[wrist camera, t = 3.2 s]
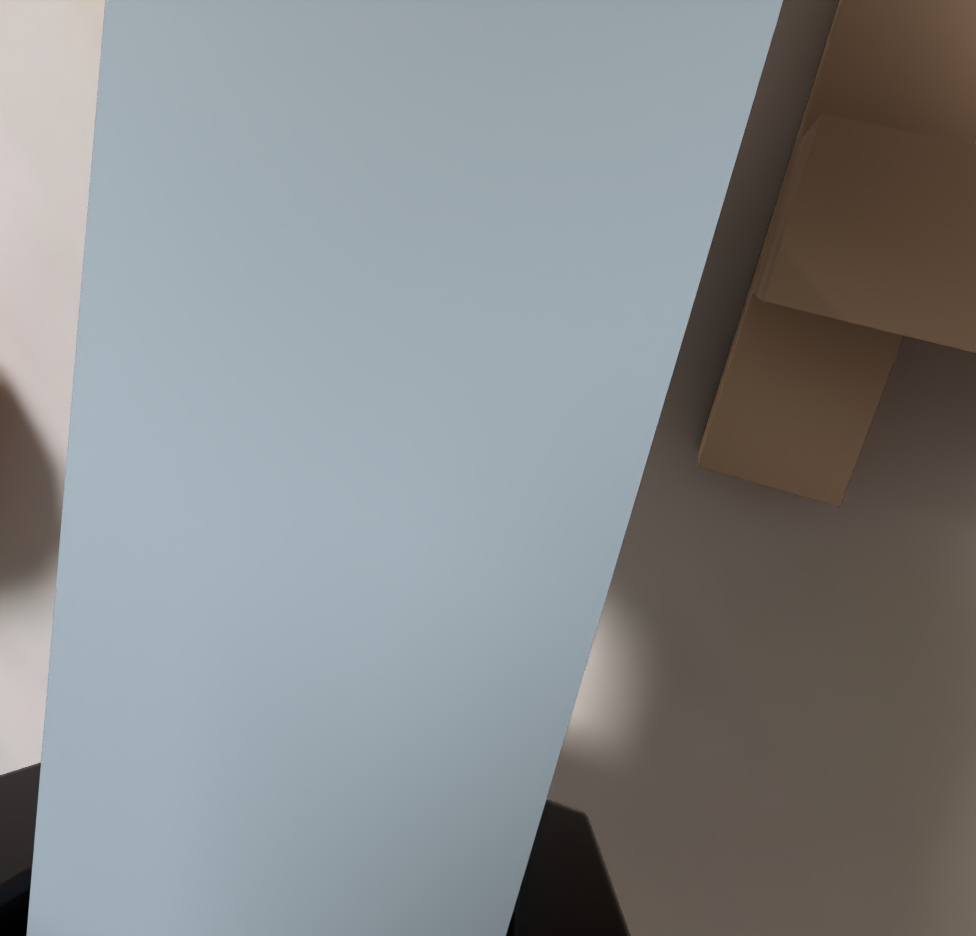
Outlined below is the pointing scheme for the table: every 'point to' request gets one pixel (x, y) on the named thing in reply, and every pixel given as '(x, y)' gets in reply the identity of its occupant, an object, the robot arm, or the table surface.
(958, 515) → the table surface
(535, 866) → the robot arm
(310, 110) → the pale blue flat block
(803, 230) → the walnut crossed blocks
